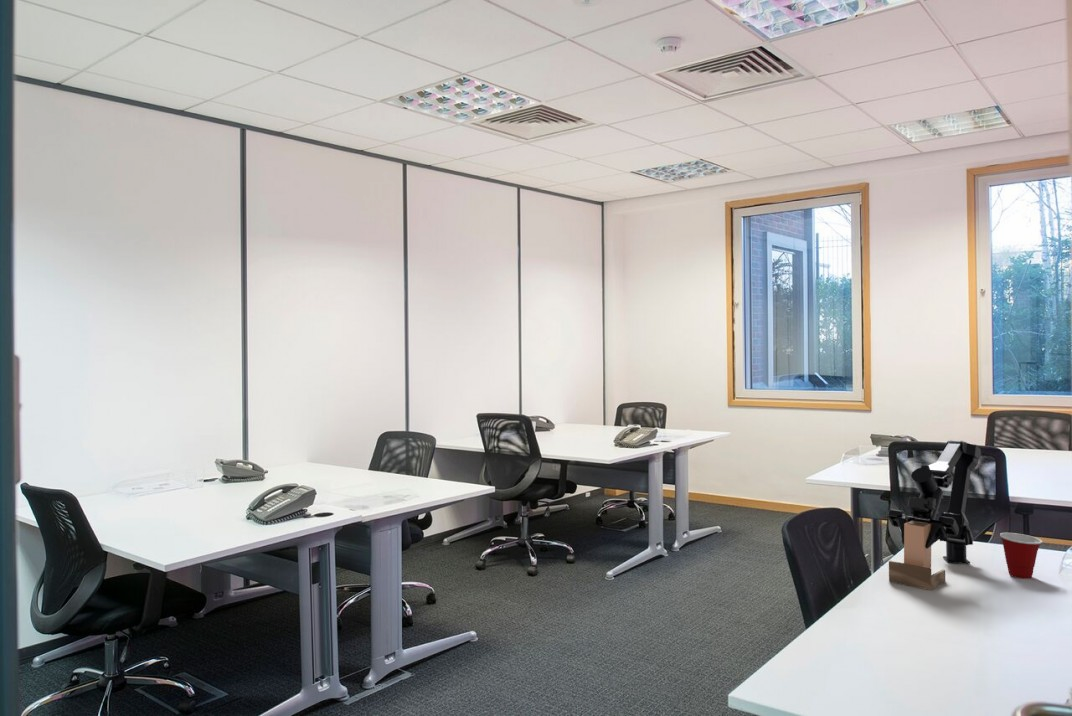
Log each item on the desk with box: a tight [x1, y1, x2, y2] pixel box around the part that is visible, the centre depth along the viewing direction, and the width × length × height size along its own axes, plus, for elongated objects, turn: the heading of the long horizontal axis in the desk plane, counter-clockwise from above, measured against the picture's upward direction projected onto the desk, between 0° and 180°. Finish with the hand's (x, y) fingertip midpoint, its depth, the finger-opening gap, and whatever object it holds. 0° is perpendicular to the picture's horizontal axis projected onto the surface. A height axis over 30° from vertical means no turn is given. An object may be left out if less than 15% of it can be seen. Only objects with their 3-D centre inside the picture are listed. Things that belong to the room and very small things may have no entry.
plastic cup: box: [999, 532, 1043, 580], centre depth 225 cm, size 11×11×12 cm
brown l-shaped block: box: [888, 560, 946, 591], centre depth 221 cm, size 11×12×6 cm
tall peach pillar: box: [903, 520, 932, 569], centre depth 221 cm, size 6×6×13 cm
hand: (914, 545), depth 221 cm, fingers closed on tall peach pillar, 6 cm apart
